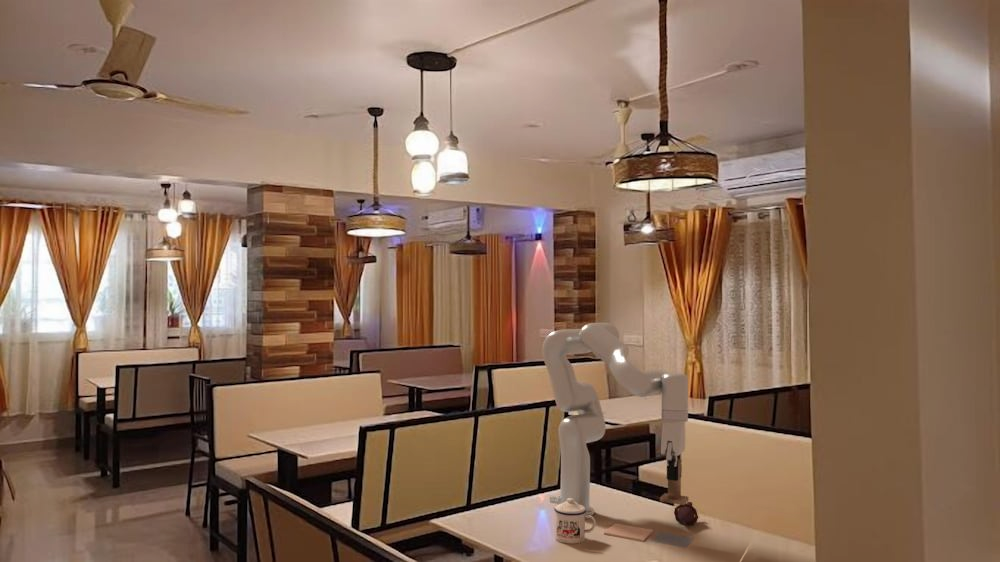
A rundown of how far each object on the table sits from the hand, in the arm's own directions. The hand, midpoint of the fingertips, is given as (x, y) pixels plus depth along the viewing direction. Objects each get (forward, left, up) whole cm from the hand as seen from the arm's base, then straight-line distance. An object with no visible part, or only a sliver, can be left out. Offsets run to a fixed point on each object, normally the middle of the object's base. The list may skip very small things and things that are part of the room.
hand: (674, 477), depth 209 cm
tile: (-13, -1, -18) cm, 22 cm away
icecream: (0, +17, -19) cm, 25 cm away
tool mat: (0, 0, -18) cm, 18 cm away
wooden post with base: (0, 0, -7) cm, 7 cm away
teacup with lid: (-25, -14, -19) cm, 34 cm away
